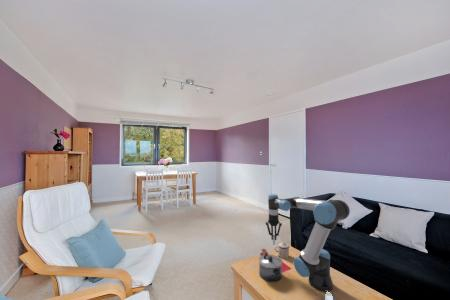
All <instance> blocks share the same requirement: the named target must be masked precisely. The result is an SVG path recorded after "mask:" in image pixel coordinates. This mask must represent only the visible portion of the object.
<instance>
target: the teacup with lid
mask: <svg viewBox="0 0 450 300" xmlns="http://www.w3.org/2000/svg"><path fill="white" fill-rule="evenodd" d="M276 248H277V249H278V250H277V249H276ZM274 251H275V252H276V253H278V257H279V258H281V259H288V258H289V257H290V252H289V251H290V245H289V244H288V243H286V242H285V241H282V242H280V243H278V245H277V246H276V245H275V247H274Z"/></svg>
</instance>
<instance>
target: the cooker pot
mask: <svg viewBox="0 0 450 300" xmlns="http://www.w3.org/2000/svg"><path fill="white" fill-rule="evenodd" d="M262 255H264V254H263V253H262V252H260V256H262ZM258 263H259V262H258ZM258 266H259V268H258V269H259V270H258V271H259V273H258V275H259V277H260V278H261V279H262V280H264V281H266V282H270V283H276V282H279V281H281V279H282V277H283V276H282V275H283V271H282V266H283V265H282V266H281V267H280V268H277V269H269V268H265V267H263V266H262V265H261V264H260V263H259V265H258Z"/></svg>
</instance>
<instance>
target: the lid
mask: <svg viewBox="0 0 450 300" xmlns="http://www.w3.org/2000/svg"><path fill="white" fill-rule="evenodd" d="M261 253H263V254H264V255H262V256H261V255H260V256H259V257H258V263H260V264H261V265H262V266H263V267H265V268H269V269H277V268H280V267H281V266H283V260H282V258H281V257H280V256H277V255H274V254H269V253H268V251H267V249H266V248H262V249H261Z"/></svg>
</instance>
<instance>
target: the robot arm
mask: <svg viewBox="0 0 450 300" xmlns="http://www.w3.org/2000/svg"><path fill="white" fill-rule="evenodd" d="M278 196H279V195H278V194H275V193H270V194H268V197H267V198H268V199H267V200H268V201H267V203H268V220H267V221H265V225H266V227H267V231H268V235H269V236H270V237H271V241H272V245H274V246H276V241H277V237H278V236H280V235H279V234H280V230H281V227H282V226H283V223H282V222H280V221H279V210H281V211H286V212H288V211H289V210H291V209H294V208H295V209H302V210H307V211H308V210H309V211H312V212H313V217H314V218H313V219H314V221H315V222H314V223H315V224H314V225H313V228H312V230H311V233H310V235H309V238H308V240H307V243H306V246H305V247H304V248H303V249H301V251H300V253H299V255H298V256H296V257H294V258H293V266H294V269H295V271H296V273H298V275H299V276H300V277H302V278H307V277H308V283H309V286H311V287H312V288H314V289H315V290H319V291H322V292H326V291H325V290H330V291H332V290H333V289H334V283H333V279H332V276H331V254H330V252H329V251H328V250H326V249H324V246H325V244H326V241H327V238H328V237H329V234H330V232H331V230H332V231H333V230H334V229H336V227H337V225H338V222H340V221H343V220H346V219H347V218H348V217H349V216H350V212H351V210H350V207H349V205H348V203H346V202H345V201H344V200H341V199H329V200H323V199H321V200H320V199H311V198H304V197H303V198H302V197H299V196H294V197H290V198H283V199H282V198H279V197H278ZM277 226H278V229H277Z"/></svg>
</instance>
